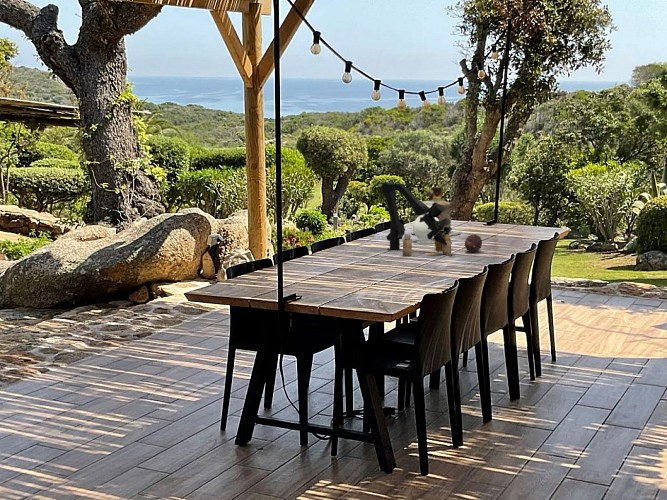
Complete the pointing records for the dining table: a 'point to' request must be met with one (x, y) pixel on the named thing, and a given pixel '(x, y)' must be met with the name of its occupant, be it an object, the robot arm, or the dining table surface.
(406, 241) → the grey ball tube
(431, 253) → the card
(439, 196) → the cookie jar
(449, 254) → the orange ball tube
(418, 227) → the decorative vase
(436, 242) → the disposable coffee cup
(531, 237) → the dining table surface
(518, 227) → the dining table surface
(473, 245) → the pine cone
